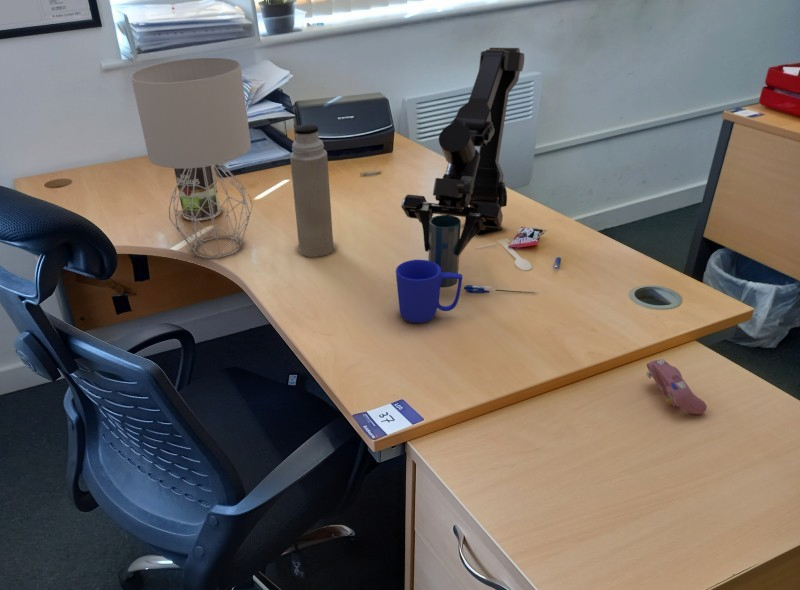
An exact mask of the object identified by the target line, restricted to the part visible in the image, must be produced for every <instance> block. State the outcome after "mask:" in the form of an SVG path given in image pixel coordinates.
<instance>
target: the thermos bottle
mask: <svg viewBox="0 0 800 590" xmlns="http://www.w3.org/2000/svg"><path fill="white" fill-rule="evenodd" d="M318 131H319V127H318V125H316V124H311V123H309V124H308V123H307V124H300V125H297V126H295V127H294V133H295V141H293V142H292V145H291V146H292V147H291V151H292V152H290V154H289V160H290V161H289V162H290V170H291V180H292V181H291V182H292V190H293V199H294V200H293V203H294V213H295V221H296V231H297V232H296V233H297V242H298V250H299V251H298V252H299V253H300V254H301V255H303V256H304V257H310V258H311V257H312V258H315V257H317V258H318V257H323V256H326V255H329V254H330V253H332V252H333V250H334V234H333V222H332V221H333V220H332V203H331V190H330V175H329V161H328V160H329V159H328V152H327V150H326V149H324V147H325V144H324V142H323V140H322V139H320V138H319V137H320V136H319V132H318Z"/></svg>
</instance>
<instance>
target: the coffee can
mask: <svg viewBox="0 0 800 590" xmlns="http://www.w3.org/2000/svg"><path fill="white" fill-rule="evenodd" d="M213 167H214V165H213ZM203 168H204V167H199V168H197V169H196V177H195V168H192V171H191V168H190V170H189V172H188V169H189V168H186V170H185V172H184V174H183V177H182V179H181V181H180V183H179V185H178V187H177V191H178V194H179V192H180V191H181V189H182V186H183V183H184V181H185V178H186V175H187V172H188V175H187V178H186V181H185V184H186V183H187V182H188V178H189V175H190V171H191V175H190V179H189V182H191V183H194V177H195V184H196V185H199V186H201V187H204V188H206V187H207V182H208V187H209V186H210V185H211V184H212V183H214V182H215V181H216V180H217V175H216V173H215V171H216V170H215V171H214V170H213V168H212V166H207V167H205V171H206V177H207V182H206V187H205V181H206V177H205V180H204V174H205V172H204V174H203ZM214 168H215V167H214ZM173 170H174V175H175V181H176V184H177V183H178V181H179V179H180V177H181V175H182V173H183V171H184V169H178V168H173ZM191 183H189V184H188V183H187V184H188V199H187V185H186V186H185V184H184V186H185V187H184V186H183V187H184V189H183V190H182V192H181V195H180V194H179V195H180V198H179V201H180V206H181V210H182V209H184V208H185V207H186V206H187V205H189V204H190V203H191V202H192V195H193V186H194V185H193V184H191ZM196 185H195V186H194V195H193V203H195V204H196V205H197V206H199V207H200V208H201V207H202V205H203V203H204V202H205V200H206V199H207V193H208V189H207V193H206V189H204V188H201V187H199V186H196ZM209 193H210V198H211V200H212V201H213V202H215V203H216V204H217V205H219V206H220V207H221V202H220V196H219V190H218V184H217V182H215V183H214V184H213V185H212V186H210V187H209ZM209 193H208V198H209ZM179 195H178V196H179ZM188 200H189V204H188ZM212 201H211V203H212V209H213V214H214V215H215V214H216V213H217V211H218V210H219V208H220V207H218V206H217V205H216V204H215V203H213V202H212ZM209 204H210V200H209ZM209 204H208V199H207V200H206V202H205V204H204V205H203V207H202V209H203V210H204V211H206V212H207V213H209V214H210V210H211V215H212V209H211V204H210V209H209ZM196 205H194V204H193V211H192V212H193V214H194V217H195V216H196V215H197V213H198V211H199V210H200V208H198V207H197V206H196ZM190 207H191V209H192V204H190ZM190 207H189V206H188V207H187V208H185V209H184V210H183V211H182V213H184V214H187V215H189V216H191V209H190ZM203 210H200V212H199V213H198V215H197V216H196V218H195V219H196V220H198V221H199V222H200V221H201V222H202V221H208V220H211V216H210V215H208V214H207V213H205V212H204V211H203ZM221 213H222V209H220V210H219V212H218V213H217V215H216V216H215V217H214V218H216V217H218V216H219V215H220V214H221ZM184 214H182V217H183V219H185V220H187V221H191V222H192V219H193V222H194V218H192V219H191V217H189V216H187V215H184ZM193 214H192V217H193ZM212 216H213V215H212Z"/></svg>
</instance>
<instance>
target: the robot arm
mask: <svg viewBox="0 0 800 590" xmlns="http://www.w3.org/2000/svg"><path fill="white" fill-rule="evenodd" d="M479 58H480V59H479V66H478V72H477V75H476V78H475V81H474V84H473V86H472V90H471V93H470V96H469V99H468V102H466V103H465V104H463V105H462V106H461V107H460V108H459V109H458V111H457V113H456V115H455V117H454V118H453V120H451V122H450V124H448V125H447V126H445V127H444V128H443V129H442V130H441V131H440V133H439V135H438V144H439V146H440V149H441V151H442V154H443V156H444V159H445V161H446V162H447V167H446V169H445V170H446V171H445V173H443V176H442V178H441V177H435V178H434V184H433V192H432V196H435V197H434V199H435V201H437V202H438V203H433V202H428V201H427V200H426V197H425V195H417V194H406V195H405V196H404V197H403V198H402V201H401V205H400V208H401V209H402V211H403V212H404V214H405V215H406V217H407V218H409V219H416V220H418V222H419V223H420V224H421V226H422V232H423V233H422V234H423V245H424V251H425V252H427V253H429V220H430V219H431V218H433V217H434V215H451V216H455V217H459V218H465V219H464V225H463V229H462V232H461V233H460V240H459V243H458V247H457V252H456V255H457V256H459V257H460V255H461V254H462V253H463V251H464V250H465V248H466V247H467V246H468V244H469V243H470V242H471V241H472V240H473V238H474V237H475V236H483V235H488V234H492V233H497V232H501V231H503V227H502V222H503V217H504V215H503V212H502V208H503V207H507V205H508V194H507V193H508V192H507V188H506V184H505V182H504V172H503V170H502V168H501V165H500V163H499V161H500V154H501V146H502V141H503V136H504V135H503V134H504V128H505V120H506V114H507V107H508V100H509V95H510V93H511V91H512V90H513V89H514V87H515V86H516V84H517V83H518V82H519V79H520V74H521V72H523V70H524V65H525V53H524V52H521V50H520V47H489V49H486V50H483V51H480V56H479ZM476 147H479V151H478V150H477V149H476Z"/></svg>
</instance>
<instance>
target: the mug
mask: <svg viewBox="0 0 800 590" xmlns="http://www.w3.org/2000/svg"><path fill="white" fill-rule="evenodd" d="M395 278H396V289H397V297H398V310H399V313H400V316H401V317H402V319H403V320H405V321H406V322H409V323H412V324H423V323H427V322H429V321H431V320H432V319H434V317H435V315H436V313H437V310H440V311H443V312H451V311H452V310H453V309H455V307H456V306H457V304H458V303H459V299H460V296H461V290H462V284H463V274H461V273H459V272H458V273H442V272H441V268H440V266H439V265H437V264H436V263H434V262H431V261H428V259H411V260H406V261H403V262H402V263H400V264H399V265H398V266H396V269H395ZM445 278H455V279H458V282H457V288H456V293H455V297H454V300H453V302H452V303H450V304H448V305H441V304H440V295H441V288H440V287H441V283H442V281H443V279H445Z"/></svg>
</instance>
